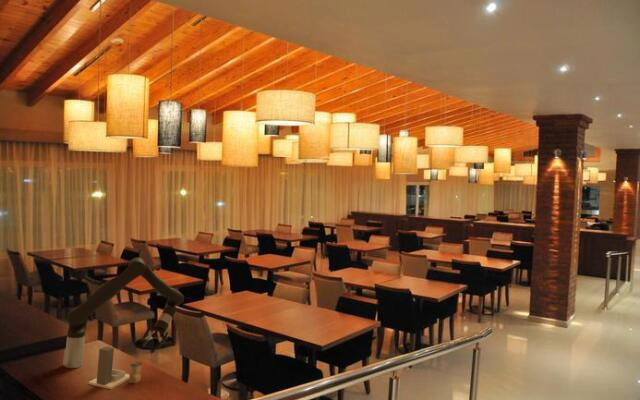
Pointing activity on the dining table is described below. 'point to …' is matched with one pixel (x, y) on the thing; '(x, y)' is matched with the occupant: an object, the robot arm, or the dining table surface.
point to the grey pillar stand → (108, 371)
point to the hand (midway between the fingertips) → (149, 347)
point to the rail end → (135, 372)
